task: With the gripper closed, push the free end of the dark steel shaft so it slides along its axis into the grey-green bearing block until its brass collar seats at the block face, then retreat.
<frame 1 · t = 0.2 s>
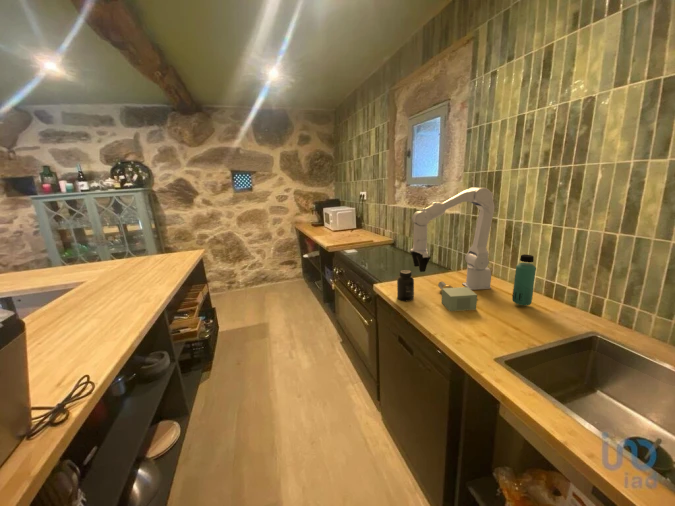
hand: (419, 268, 124), 10 cm above the worktop, fingers open, 7 cm apart
supplement bottle: (405, 298, 118), on the worktop
beverage bottle: (520, 306, 106), on the worktop
bearing block: (458, 305, 108), on the worktop
shaft: (448, 290, 117), point 2 cm above the worktop, slide at 5.0 cm
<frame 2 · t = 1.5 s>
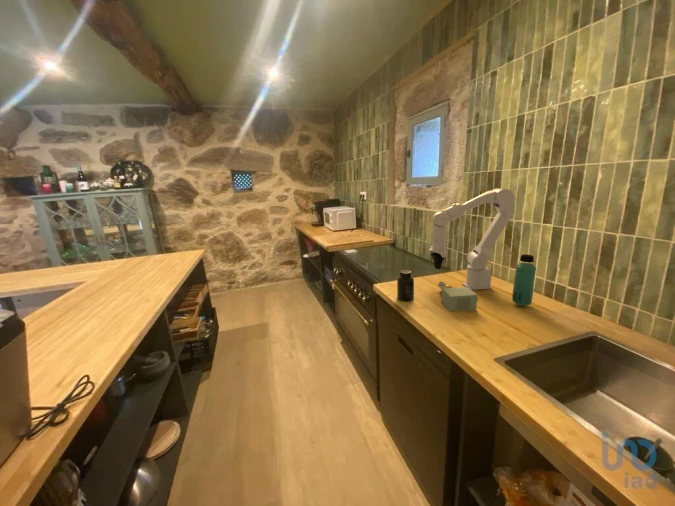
hand: (437, 268, 127), 8 cm above the worktop, fingers closed
nothing on the worktop moved.
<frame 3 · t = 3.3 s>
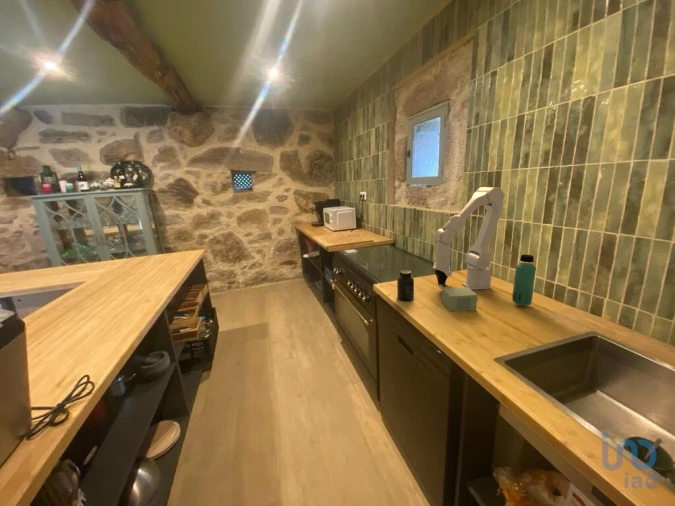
hand: (441, 286, 124), 2 cm above the worktop, fingers closed
shaft: (449, 292, 116), point 2 cm above the worktop, slide at 3.7 cm, touching gripper
everything else where it was.
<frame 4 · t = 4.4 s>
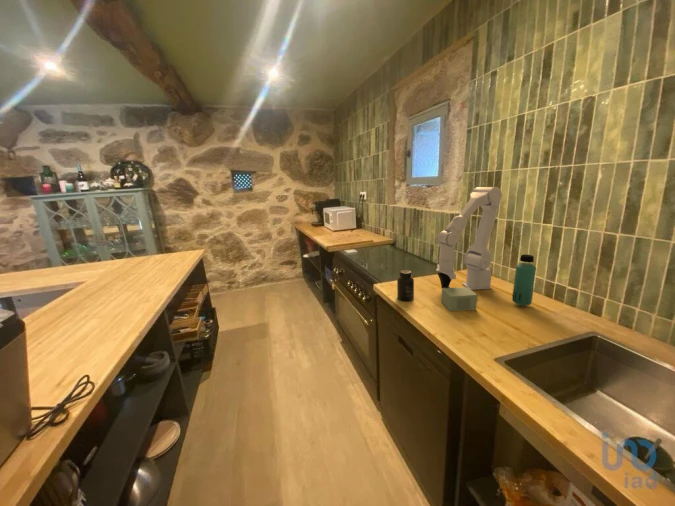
hand: (444, 289, 120), 2 cm above the worktop, fingers closed
shaft: (453, 295, 112), point 2 cm above the worktop, slide at 0.0 cm, touching gripper
everything else where it was.
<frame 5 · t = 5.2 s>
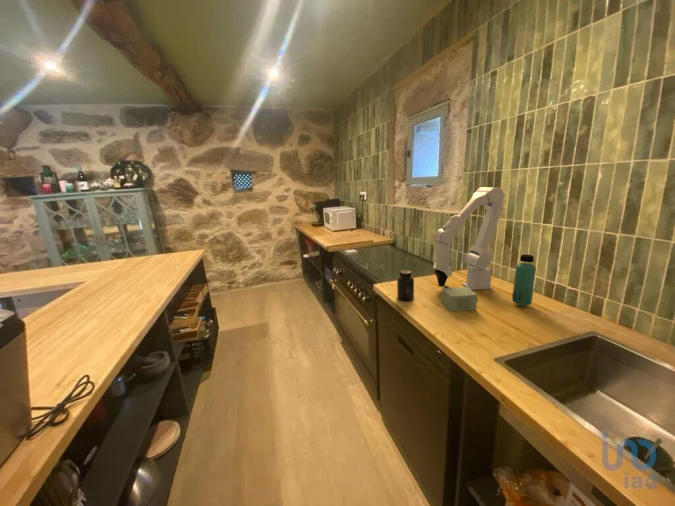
hand: (441, 286, 124), 2 cm above the worktop, fingers closed
shaft: (453, 295, 112), point 2 cm above the worktop, slide at 0.0 cm
everything else where it was.
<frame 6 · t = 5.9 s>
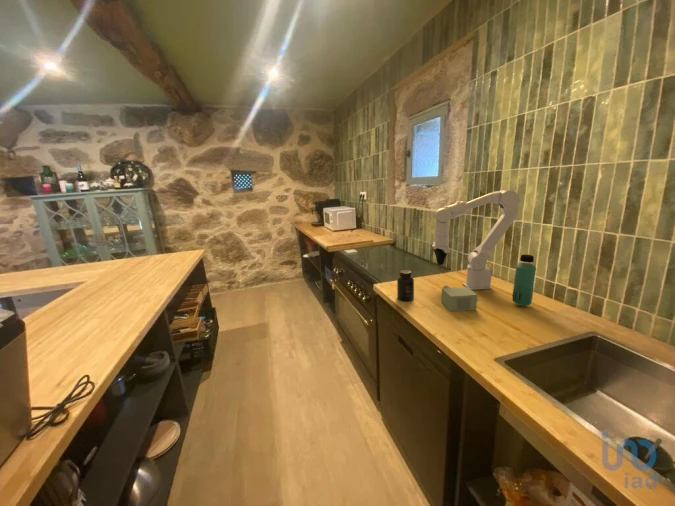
hand: (440, 264, 128), 10 cm above the worktop, fingers closed
nothing on the worktop moved.
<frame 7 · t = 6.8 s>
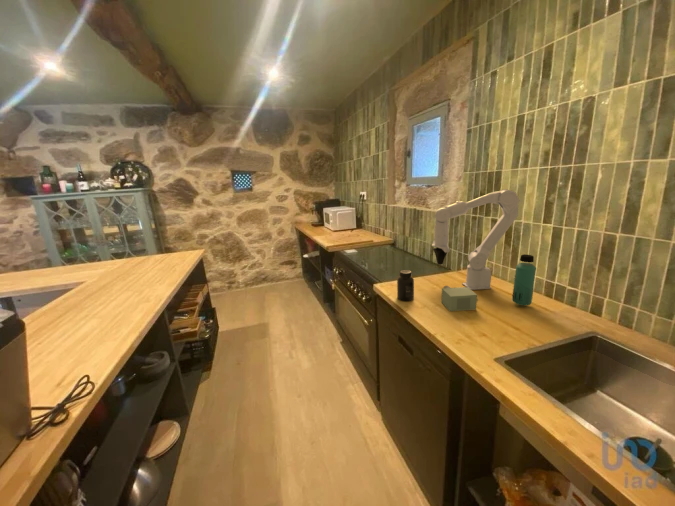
hand: (439, 263, 129), 10 cm above the worktop, fingers closed
nothing on the worktop moved.
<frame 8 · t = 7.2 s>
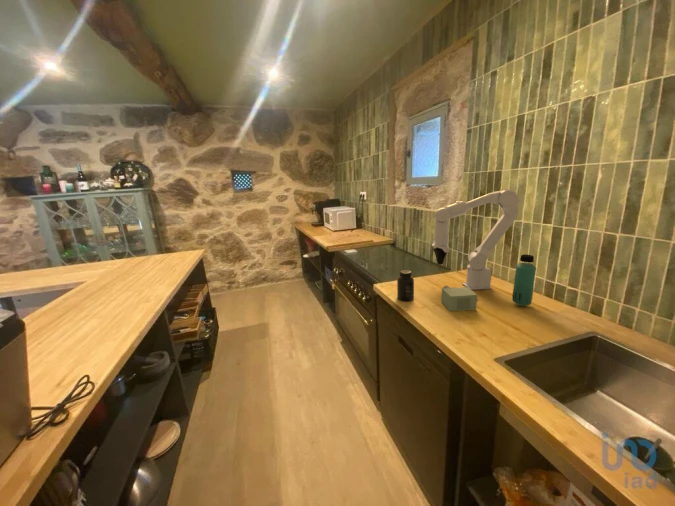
hand: (439, 263, 129), 10 cm above the worktop, fingers closed
nothing on the worktop moved.
at the end: shaft slide at 0.0 cm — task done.
